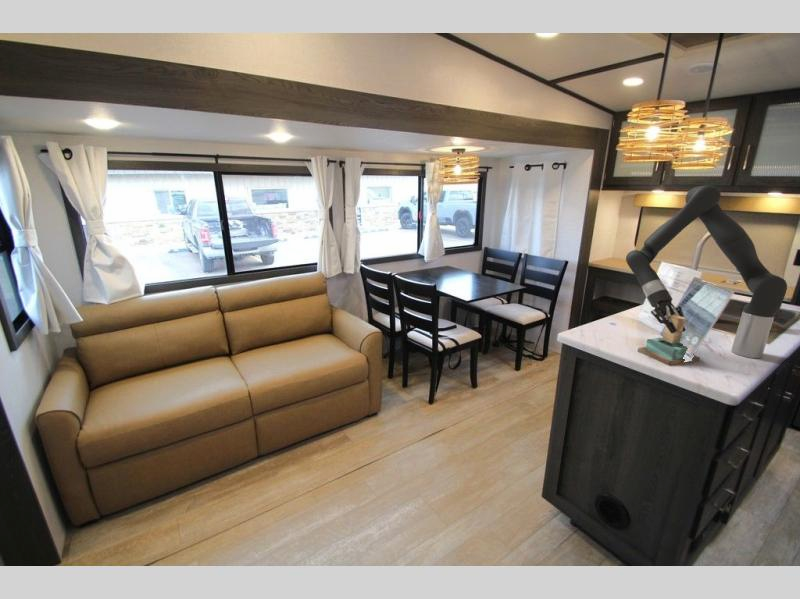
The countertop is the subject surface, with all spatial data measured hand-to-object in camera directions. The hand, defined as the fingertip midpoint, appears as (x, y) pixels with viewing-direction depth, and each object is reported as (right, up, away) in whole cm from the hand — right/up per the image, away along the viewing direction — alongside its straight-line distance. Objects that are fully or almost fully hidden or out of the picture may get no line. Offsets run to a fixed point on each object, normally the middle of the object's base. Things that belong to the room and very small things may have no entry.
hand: (678, 331), depth 141 cm
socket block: (-1, -10, +5) cm, 11 cm away
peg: (-1, -4, +3) cm, 5 cm away
